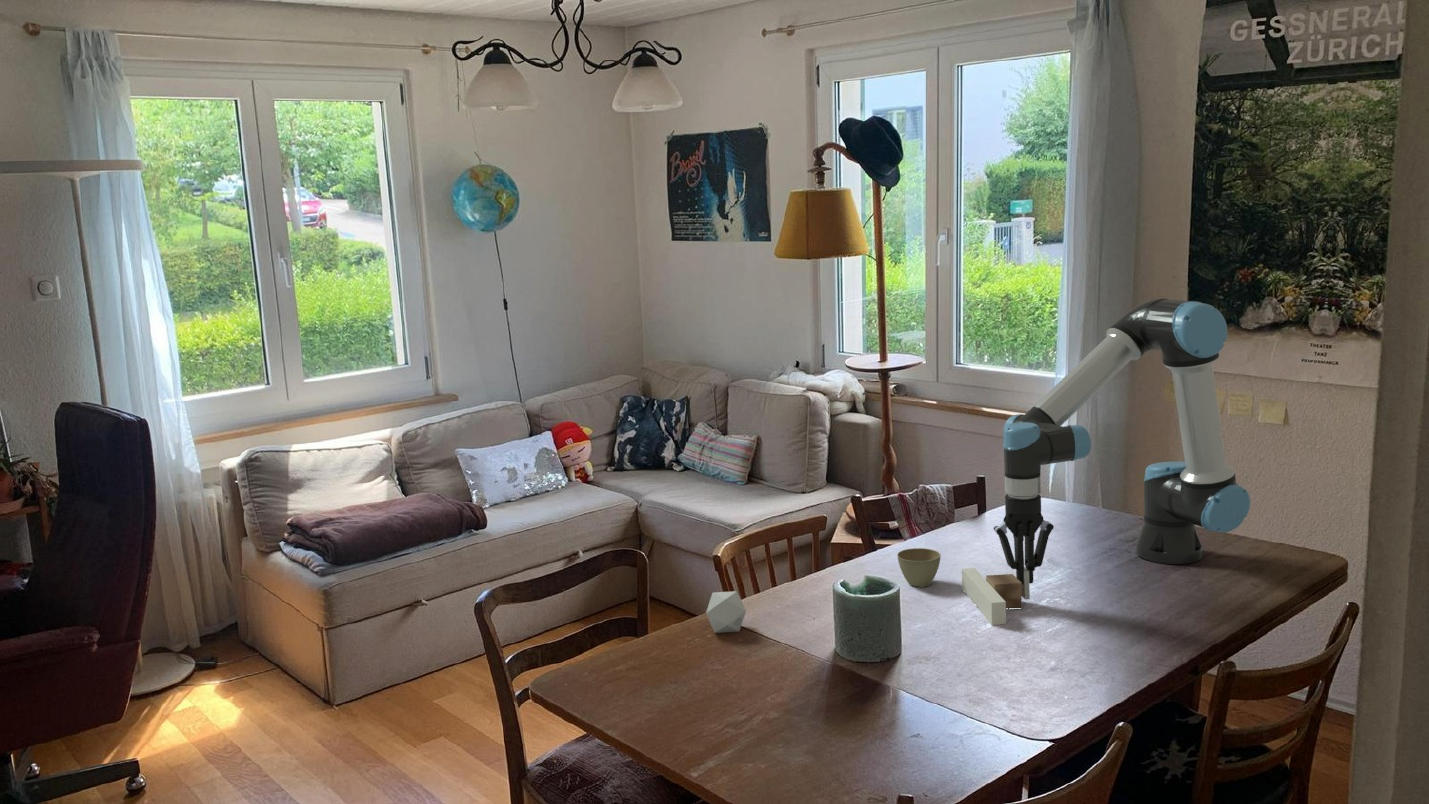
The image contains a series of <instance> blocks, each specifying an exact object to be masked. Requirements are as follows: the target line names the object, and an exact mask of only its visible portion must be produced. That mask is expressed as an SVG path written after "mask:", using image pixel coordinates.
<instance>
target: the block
mask: <svg viewBox="0 0 1429 804" xmlns="http://www.w3.org/2000/svg"><path fill="white" fill-rule="evenodd" d="M985 580H986V581H987V582H988V583H989V584H990V585H991V586H992V587H993V588H994V589H995V591H996V592H997V593H998V594H999V595H1000V596H1001V597H1002V598H1003V600H1004V601H1005V602H1006V608H1008V609H1009V608H1021V609H1022V599H1023V597H1022V583H1021V582H1020V581H1019V580H1018V579H1017V578H1016V575H1014V573H1009V574H1008V573H1006V574H990V575H987V574H986V576H985Z"/></svg>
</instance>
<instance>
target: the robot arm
mask: <svg viewBox="0 0 1429 804" xmlns="http://www.w3.org/2000/svg"><path fill="white" fill-rule="evenodd" d="M1227 325H1228V324H1227V322H1226V319H1225V317H1224V316H1223V314H1222V313H1221V312H1220V311H1219V310H1218V309H1217V308H1215V307H1214V306H1213V305H1211V304H1208V303H1203V302H1201V301H1195V300H1191V301H1188V300H1179V299H1177V300H1176V299H1168V298H1155V299H1151V300H1150V299H1149V300H1148V301H1145V302H1143V303H1141V304H1139V305H1138V306H1135V307H1134V308H1132V309H1131V310H1129V312H1127V313H1126V314H1124V315H1123V316H1121V317H1120V318H1119V319H1118V320H1117V321H1116V322H1115V323H1113V324H1112V325H1111V326H1110V327H1109V328H1108V329H1107V330H1106V335H1105V336H1106V337H1105V338H1104V339H1103V340H1102V341H1101V342H1100V343H1099V344H1097V346H1096V347H1095V348H1093V350H1091V351H1090V352H1089V353H1088V354H1087V355H1086V356H1085V357H1084V358H1083V359H1082V360H1080V361H1079V363H1078V364H1077V365H1076V366H1074V367H1073V368H1072V370H1070V371H1069V372H1068V373H1067V374H1066V375H1065V376H1064V377H1063V378H1061V380H1060V381H1058V382H1057V383H1056V384H1055V386H1053V387H1052V388H1051V389H1050V390H1049V391H1048V392H1046V394H1045V395H1044V396H1043V397H1042V398H1041V399H1040V400H1039V401H1037V402H1036V403H1035V404H1034V405H1033V406H1032V407H1031V408H1030V409H1029V410H1027V412H1026V413H1025V414H1014V415H1012V416H1010V417H1009V418H1008V419H1007V420H1006V421H1005V423H1004V426H1003V444H1002V448H1003V464H1004V466H1003V467H1004V493H1005V496H1004V504H1005V505H1004V506H1005V507H1004V508H1005V509H1004V510H1005V516H1004V518H1003V522H1002V523H1001V524H999V525H995V526H994V527H993V531H994V532H995V533H996V534H997V535H998V537H999V538H998V539H999V541H1000V544H1001V545H1000V546H1001V547H1002V551H1003V554H1004V557H1005V560H1006V563H1007V566H1009V567H1010V568H1011V569H1012V570H1015V572H1016V573H1015V577H1016V578H1017V579H1018V580H1019V581H1020V582H1021V583H1022V599H1024V600H1025V601H1027V600H1030V597H1031V596H1030V593H1031V591H1030V584H1033V583H1034V571H1035V570H1036V568H1038V567H1042V565H1043V561H1044V558H1045V557H1044V556H1045V553H1046V550H1047V544H1048V541H1049V536H1050V534H1051V533H1052V531H1053V530H1054V527H1055V526H1054V525H1053V524H1052V523H1051V522H1050V521H1048V520H1047V521H1046V520H1045V519H1044V516H1043V515H1042V497H1041V495H1040V494H1041V492H1042V487H1041V485H1042V484H1041V482H1042V481H1041V470H1042V469H1041V468H1042V467H1041V466H1045V465H1051V464H1059V463H1065V462H1074V461H1076V460H1080V459H1084V458H1086V457H1088V455H1089V454H1090V452H1091V449H1092V445H1091V444H1092V440H1091V435H1090V434H1089V431H1088V430H1087V429H1086V428H1085V427H1084V426H1082V425H1080V424H1073V425H1071V424H1069V425H1066V426H1062V425H1064V424H1065V423H1066V422H1067V421H1068V420H1069V419H1070V418H1071V417H1072V416H1073V415H1075V414H1076V412H1077V411H1078V410H1080V409H1081V408H1082V407H1083V406H1084V405H1085V404H1086V403H1087V402H1088V401H1089V400H1090V399H1091V398H1093V396H1094V395H1096V394H1097V393H1098V391H1100V390H1101V389H1102V388H1103V387H1105V385H1106V384H1107V383H1108V382H1109V381H1110V380H1112V378H1113V377H1114V376H1116V375H1117V374H1118V373H1119V372H1120V371H1121V370H1122V369H1123V368H1125V366H1126V365H1128V364H1129V362H1130V361H1138V360H1139V359H1140V358H1141V357H1142V356H1143V355H1144V354H1145V353H1149V352H1150V351H1153V350H1159V351H1161V358H1162V364H1163V366H1164V367H1165V368H1167V369H1169V370H1170V372H1171V376H1172V383H1173V389H1174V395H1175V402H1176V403H1175V404H1176V410H1177V416H1178V422H1179V423H1178V424H1179V428H1180V429H1179V430H1180V438H1181V444H1182V451H1183V457H1184V461H1161V462H1155V463H1152V464H1149V465H1148V466H1147V467H1146V468H1145V471H1144V472H1145V473H1144V479H1143V488H1144V489H1143V524H1142V526H1141V529H1140V532H1139V534H1138V537H1137V540H1136V542H1135V554H1136V553H1137V554H1136V555H1137V556H1138V555H1139V556H1140V558H1141V557H1142V558H1141V559H1143V558H1144V560H1146V559H1147V560H1146V561H1149V562H1154V563H1158V564H1166V565H1168V564H1169V565H1184V564H1192V563H1196V562H1199V561H1200V560H1202V557H1203V546H1202V543H1201V541H1200V537H1199V534H1198V531H1197V527H1196V526H1198V527H1201V528H1203V529H1205V530H1207V531H1209V532H1210V531H1211V532H1216V533H1220V534H1224V533H1226V534H1227V533H1229V532H1232V531H1233V530H1235V529H1237V528H1239V526H1241V525H1242V524H1243V522H1244V520H1245V519H1246V518H1247V516H1248V514H1249V511H1250V508H1251V497H1250V494H1249V492H1248V490H1246V489H1245V488H1244V487H1243V486H1242V485H1239V484H1237V477H1236V471H1235V469H1234V467H1232V466H1231V465H1229V464H1228V463H1227V458H1226V452H1225V446H1224V445H1225V444H1224V437H1223V431H1222V424H1221V423H1222V422H1221V417H1220V415H1221V414H1220V407H1219V400H1218V393H1217V388H1216V380H1215V372H1214V365H1215V363H1216V362H1217V361H1218V360H1219V359H1220V354H1219V353H1220V352H1221V350H1223V348H1224V346H1225V344H1224V342H1226V341H1227V338H1228V326H1227ZM1039 528H1040V530H1039V532H1038V529H1039ZM1007 529H1008V530H1009V531H1010V533H1012V538H1013V544H1014V545H1013V546H1014V548H1013V549H1014V554H1013V551H1012V547H1011V545H1010V541H1009V539H1008V536H1007V533H1008V530H1007ZM1037 532H1038V533H1039V534H1038V537H1037V540H1036V539H1035V538H1036V537H1035V535H1036V533H1037ZM1035 540H1036V545H1035ZM1139 556H1138V557H1139Z"/></svg>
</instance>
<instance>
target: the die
mask: <svg viewBox="0 0 1429 804" xmlns="http://www.w3.org/2000/svg"><path fill="white" fill-rule="evenodd" d="M708 602H709V603H708V606H707V608H706V611H705V615H706V617H707V619H708V621H709V624H710V626H711V628H712V630H713V632H714V634H720V633H739V632H740V630H741V627H742V624H743V621H744V619H745V615H746V612H747V610H746V608H745V605H744V604H743V601H742V598H741V596H740V595H739V593H738V591H737V590H736V591H735V590H733V591H717V592H716V591H715V592H712V593H711V597H710V600H709V601H708Z"/></svg>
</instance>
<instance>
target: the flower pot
mask: <svg viewBox="0 0 1429 804" xmlns="http://www.w3.org/2000/svg"><path fill="white" fill-rule="evenodd" d="M896 555H897V556H896V557H897V561H898V562H897V563H898V565H899V568H900V570H901V574H902V575H903V577H904V579H905V581H906V582H907V583H908V584H909V586H911V585H913V586H912V587H915V586H920V587H919V588H923V587H922V586H925V587H927V586H930V585H931V584H932V582H933V581H934V579H935V577H936V574H937V573H938V570H939V567H940V562H941V555H942V554H941V552H940V551H937V550H935V549H930V548H924V547H923V548H922V547H915V548H906V549H903V550H900V551H899V552H897V554H896ZM929 584H930V585H929Z"/></svg>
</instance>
